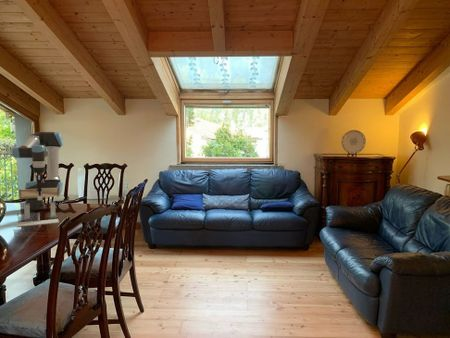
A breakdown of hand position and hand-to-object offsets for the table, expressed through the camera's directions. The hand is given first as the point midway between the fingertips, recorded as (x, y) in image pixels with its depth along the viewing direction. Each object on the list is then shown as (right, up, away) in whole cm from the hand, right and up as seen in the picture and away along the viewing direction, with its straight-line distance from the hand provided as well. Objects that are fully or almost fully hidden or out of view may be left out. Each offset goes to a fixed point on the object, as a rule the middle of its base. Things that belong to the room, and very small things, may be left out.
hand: (40, 199), depth 221 cm
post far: (+7, -14, +5) cm, 16 cm away
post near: (-7, -14, -3) cm, 16 cm away
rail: (0, +2, 0) cm, 2 cm away
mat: (+6, -15, -11) cm, 19 cm away
